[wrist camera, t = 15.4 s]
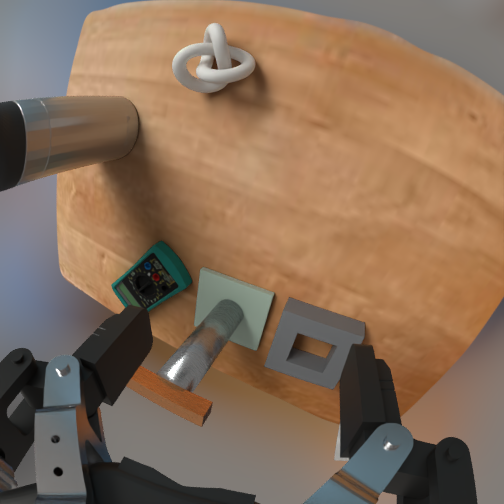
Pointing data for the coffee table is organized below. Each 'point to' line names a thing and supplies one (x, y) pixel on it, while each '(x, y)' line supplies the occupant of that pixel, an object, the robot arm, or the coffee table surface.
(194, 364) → the t key
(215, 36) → the knot
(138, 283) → the digital multimeter
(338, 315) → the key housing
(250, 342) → the pad
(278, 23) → the coffee table surface
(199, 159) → the coffee table surface
